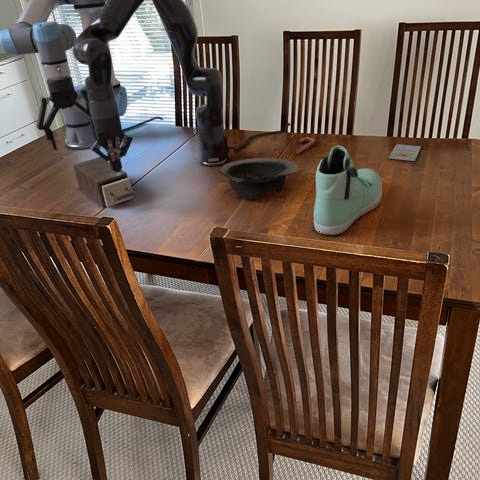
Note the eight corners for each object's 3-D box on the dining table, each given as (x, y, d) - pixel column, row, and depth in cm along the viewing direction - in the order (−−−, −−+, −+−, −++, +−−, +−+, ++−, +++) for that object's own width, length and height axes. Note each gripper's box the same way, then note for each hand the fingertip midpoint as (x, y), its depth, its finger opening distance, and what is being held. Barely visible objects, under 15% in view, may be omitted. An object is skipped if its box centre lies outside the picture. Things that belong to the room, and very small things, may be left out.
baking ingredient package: (388, 157, 167) (396, 143, 178) (388, 158, 167) (396, 144, 179) (414, 160, 163) (421, 145, 175) (414, 161, 164) (421, 147, 175)
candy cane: (285, 152, 180) (284, 148, 179) (304, 139, 190) (304, 135, 189) (299, 154, 177) (299, 151, 176) (318, 141, 187) (318, 137, 186)
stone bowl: (243, 213, 140) (240, 183, 136) (209, 189, 160) (205, 162, 156) (313, 190, 149) (312, 161, 144) (272, 170, 169) (270, 144, 165)
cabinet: (132, 197, 156) (127, 173, 151) (103, 207, 151) (96, 182, 146) (106, 179, 170) (101, 156, 166) (79, 187, 165) (72, 164, 161)
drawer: (142, 203, 149) (138, 184, 146) (115, 213, 145) (111, 193, 141) (108, 180, 167) (104, 162, 163) (84, 188, 162) (79, 170, 159)
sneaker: (389, 187, 148) (396, 123, 138) (356, 242, 123) (361, 168, 112) (346, 181, 154) (350, 119, 144) (306, 232, 129) (307, 161, 118)
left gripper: (18, 87, 138) (39, 156, 149) (101, 71, 149) (115, 137, 160) (13, 83, 144) (34, 150, 155) (94, 68, 155) (108, 132, 166)
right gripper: (87, 122, 128) (101, 181, 137) (132, 111, 134) (143, 168, 143) (77, 116, 133) (91, 174, 142) (120, 106, 139) (132, 161, 148)
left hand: (75, 143), depth 158 cm, fingers open, 13 cm apart
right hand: (117, 171), depth 143 cm, fingers closed
